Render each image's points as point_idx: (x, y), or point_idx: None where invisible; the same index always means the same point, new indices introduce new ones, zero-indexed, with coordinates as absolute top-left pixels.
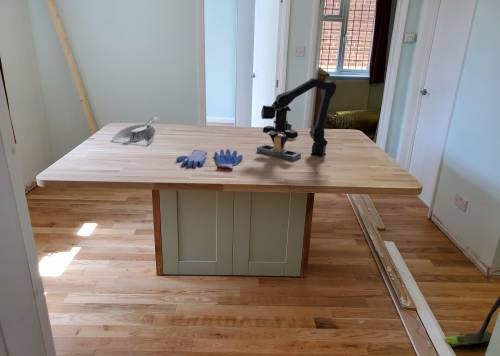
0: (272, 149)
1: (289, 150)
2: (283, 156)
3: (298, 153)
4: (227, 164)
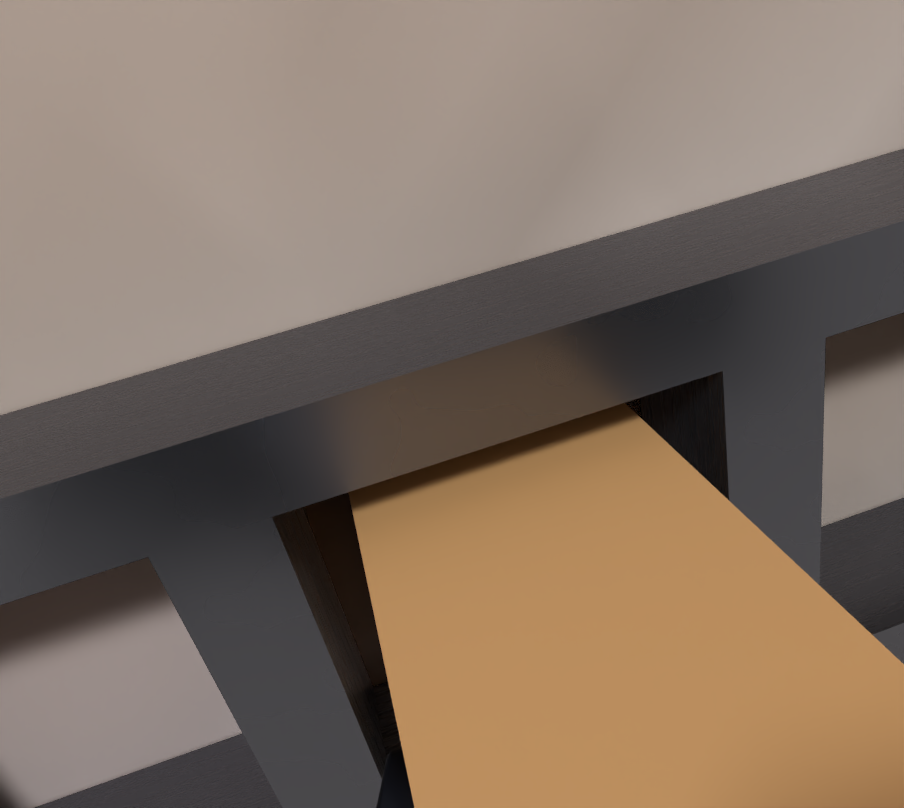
0: (330, 751)
1: (846, 247)
2: None
3: None
4: None
